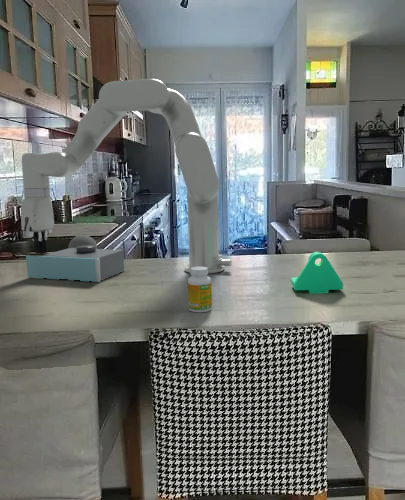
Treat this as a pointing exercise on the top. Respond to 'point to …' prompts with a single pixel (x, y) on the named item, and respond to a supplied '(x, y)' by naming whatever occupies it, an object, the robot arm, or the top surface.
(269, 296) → the top surface
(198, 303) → the supplement bottle
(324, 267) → the camera mount
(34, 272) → the door
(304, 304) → the top surface
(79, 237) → the decorative ball
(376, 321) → the top surface
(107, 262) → the grey box with knob
